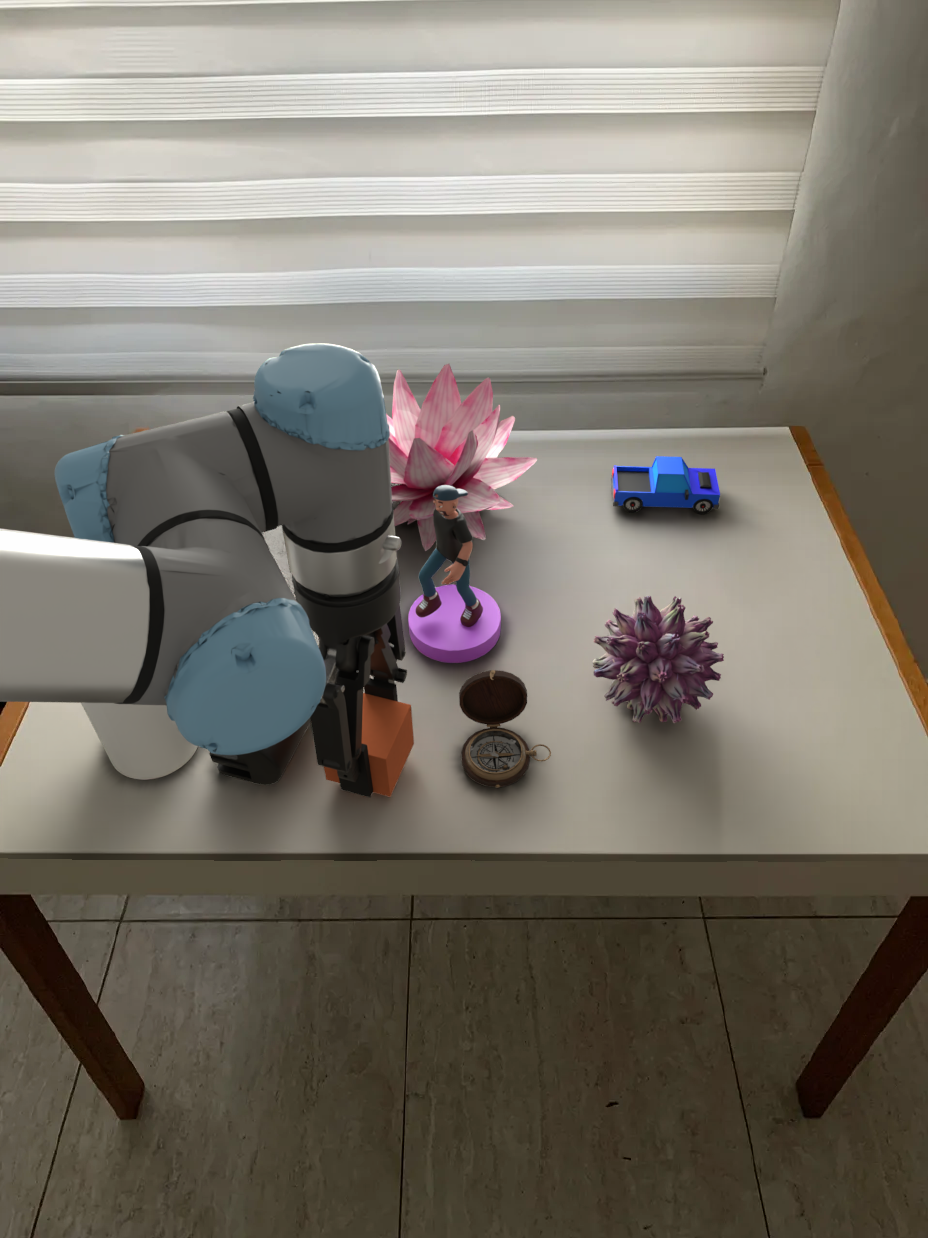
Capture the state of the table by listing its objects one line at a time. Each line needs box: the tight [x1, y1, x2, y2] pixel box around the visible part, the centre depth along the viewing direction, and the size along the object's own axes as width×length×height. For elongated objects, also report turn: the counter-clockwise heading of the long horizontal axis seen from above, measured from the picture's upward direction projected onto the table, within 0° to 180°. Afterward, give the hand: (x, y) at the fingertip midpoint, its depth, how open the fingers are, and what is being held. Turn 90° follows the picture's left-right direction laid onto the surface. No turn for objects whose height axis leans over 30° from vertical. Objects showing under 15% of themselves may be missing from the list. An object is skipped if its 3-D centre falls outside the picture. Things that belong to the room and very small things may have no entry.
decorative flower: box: [386, 363, 538, 552], centre depth 101 cm, size 21×21×15 cm
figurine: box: [407, 485, 502, 664], centre depth 87 cm, size 9×9×18 cm
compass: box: [458, 669, 552, 789], centre depth 80 cm, size 8×8×7 cm
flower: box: [592, 595, 725, 724], centre depth 82 cm, size 12×12×12 cm
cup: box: [80, 703, 199, 781], centre depth 78 cm, size 8×8×16 cm
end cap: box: [208, 718, 311, 786], centre depth 81 cm, size 10×7×7 cm
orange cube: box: [323, 692, 415, 798], centre depth 78 cm, size 6×6×6 cm
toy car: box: [610, 455, 721, 515], centre depth 105 cm, size 7×12×5 cm, turn 86°
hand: (371, 759), depth 80 cm, fingers closed on orange cube, 6 cm apart
